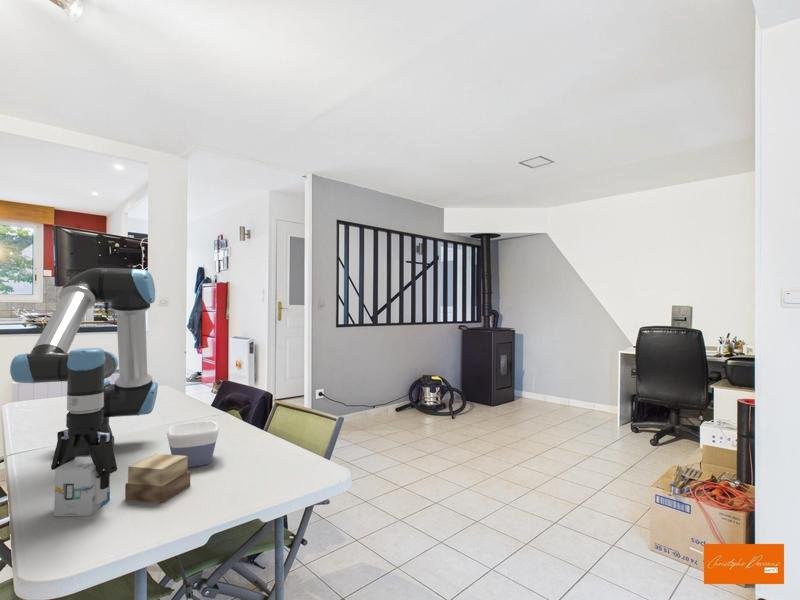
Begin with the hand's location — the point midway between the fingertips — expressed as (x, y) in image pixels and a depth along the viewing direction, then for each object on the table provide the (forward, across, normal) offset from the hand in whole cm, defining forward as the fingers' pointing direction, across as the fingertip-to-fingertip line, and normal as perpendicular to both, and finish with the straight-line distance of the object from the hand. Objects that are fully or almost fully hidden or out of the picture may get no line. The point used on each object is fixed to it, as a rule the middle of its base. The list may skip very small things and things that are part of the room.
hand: (83, 499), depth 107 cm
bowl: (+2, +6, +34) cm, 35 cm away
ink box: (+2, 0, 0) cm, 2 cm away
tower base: (+3, +12, +12) cm, 17 cm away
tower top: (-2, +12, +12) cm, 17 cm away
